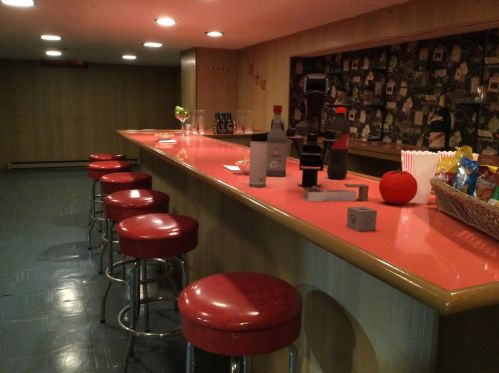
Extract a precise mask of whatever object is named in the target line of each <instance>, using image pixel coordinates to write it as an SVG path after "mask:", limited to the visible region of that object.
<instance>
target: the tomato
mask: <svg viewBox="0 0 499 373" xmlns="http://www.w3.org/2000/svg"><path fill="white" fill-rule="evenodd" d="M413 176H414V175H413V174H412V173H410V172H408V171H405V170H401V167H399V169H397V170H389V171H387V172H386V173H384V174H383V175H382V176H381V178H380V180H379V183H378V191H379V194H380V196H381V198H382V200H384V202H386V203H389V204H394V205H397V204H398V205H400V204H401V205H402V204H407V203H410V202H411V201H412V200H413V199H414V198H415V197H416V196H417V194H418V181H417V178H415V177H413Z"/></svg>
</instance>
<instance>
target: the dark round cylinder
mask: <svg viewBox="0 0 499 373" xmlns="http://www.w3.org/2000/svg"><path fill="white" fill-rule="evenodd" d="M310 189H311V192H318V189H319V187H318V186H312V188H310Z"/></svg>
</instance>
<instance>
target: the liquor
mask: <svg viewBox="0 0 499 373" xmlns="http://www.w3.org/2000/svg"><path fill="white" fill-rule="evenodd" d="M272 107H273V108H272V112H273V124H272V128H271V129H270V130H269V131H268V132H269V134H268V139H267V140H268V143H267V144H268V145H267V170H266V177H269V178H271V177H273V178H285V177H286V175H287V158H288V136H286V132H284V130H283V129H282V125H281V124H282V122H281V121H282V120H281V119H282V113H283V105H280V104H279V105H276V104H273V106H272Z"/></svg>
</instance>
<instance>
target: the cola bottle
mask: <svg viewBox="0 0 499 373" xmlns="http://www.w3.org/2000/svg"><path fill="white" fill-rule="evenodd" d="M335 114H336V116H335V118H334V120H333V122H332V124H331V126H330V128H329V130H333V131H341V133H342V139H340V140H338V142H335V143H334V145H333V147H332V148H331V150H330V152H329V154H328V163H329V164H328V165H327V168H326V174H327V177H328V178H329V179H331V180H337V181H338V180H344V179H346V177H347V174H348V168H347V159H348V155H349V151H350V149H349V147H350V146H349V144H350V134H351V131H350V126H349V124H348V121H347V119H346V114H347V109H346V107H343V106H341V107H336V110H335Z"/></svg>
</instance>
